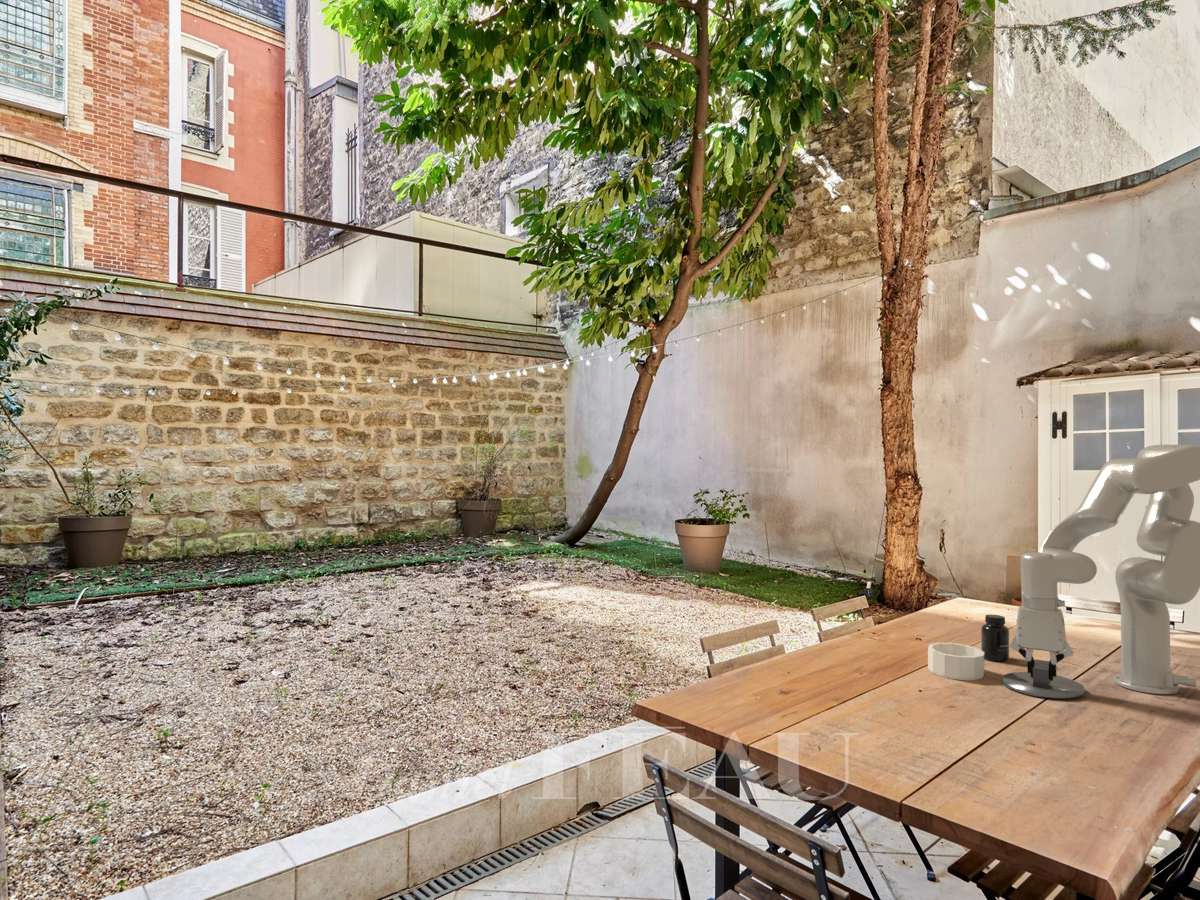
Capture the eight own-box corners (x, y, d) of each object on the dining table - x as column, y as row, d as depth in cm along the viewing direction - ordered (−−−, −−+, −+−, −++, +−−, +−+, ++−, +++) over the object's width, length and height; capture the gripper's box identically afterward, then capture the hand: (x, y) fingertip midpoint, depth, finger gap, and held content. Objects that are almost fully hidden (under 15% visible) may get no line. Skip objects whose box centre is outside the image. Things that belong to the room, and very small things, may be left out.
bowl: (986, 670, 184) (986, 647, 184) (981, 684, 173) (981, 660, 173) (932, 661, 191) (932, 640, 191) (924, 674, 180) (924, 651, 180)
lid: (1085, 682, 171) (1084, 660, 171) (1083, 703, 157) (1082, 680, 157) (1006, 670, 181) (1005, 650, 181) (998, 690, 167) (997, 668, 167)
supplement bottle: (1007, 664, 188) (1007, 620, 188) (979, 659, 193) (979, 616, 193) (1011, 657, 194) (1010, 615, 194) (983, 653, 198) (982, 612, 198)
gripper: (1080, 603, 167) (1083, 679, 167) (1003, 597, 177) (1005, 668, 177) (1079, 610, 161) (1082, 688, 161) (999, 602, 171) (1001, 676, 171)
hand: (1042, 677), depth 169 cm, fingers closed on lid, 3 cm apart
